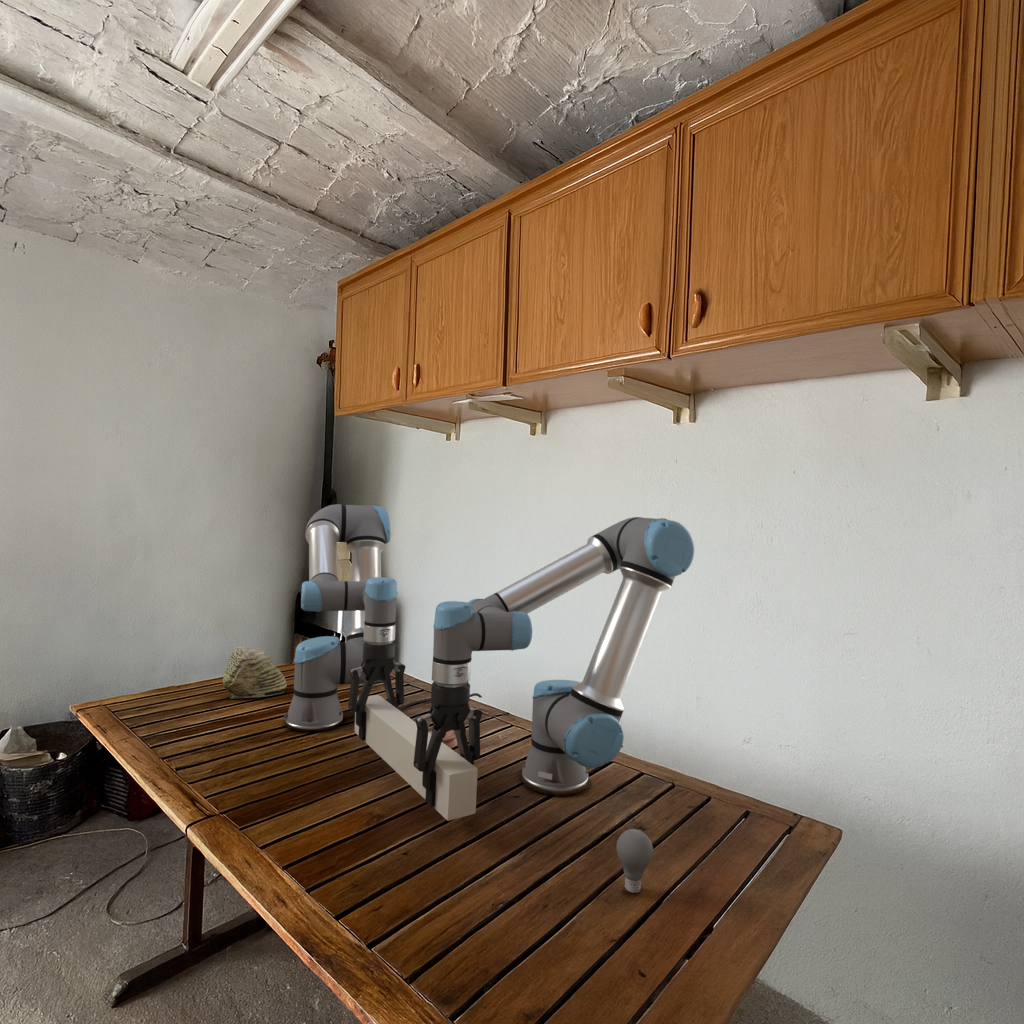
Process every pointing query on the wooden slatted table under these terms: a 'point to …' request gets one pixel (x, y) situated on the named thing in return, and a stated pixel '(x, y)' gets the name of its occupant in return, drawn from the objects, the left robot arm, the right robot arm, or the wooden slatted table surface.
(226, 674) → the fossil
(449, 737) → the anatomical model
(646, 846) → the light bulb
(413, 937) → the wooden slatted table surface
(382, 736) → the post
